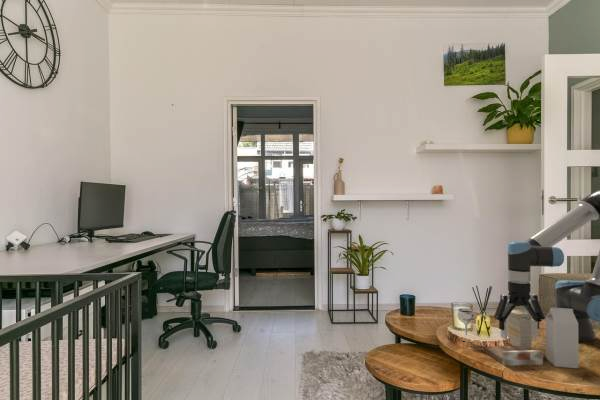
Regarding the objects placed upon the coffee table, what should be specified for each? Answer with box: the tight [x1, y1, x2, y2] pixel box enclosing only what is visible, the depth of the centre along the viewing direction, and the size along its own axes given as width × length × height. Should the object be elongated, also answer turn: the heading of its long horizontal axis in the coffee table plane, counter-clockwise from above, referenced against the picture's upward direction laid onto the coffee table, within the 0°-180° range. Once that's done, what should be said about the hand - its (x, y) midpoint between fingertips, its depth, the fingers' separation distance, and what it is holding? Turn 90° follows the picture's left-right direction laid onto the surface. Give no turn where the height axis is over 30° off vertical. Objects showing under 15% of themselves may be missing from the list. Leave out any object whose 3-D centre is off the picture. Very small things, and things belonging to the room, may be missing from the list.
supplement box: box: [506, 309, 533, 350], centre depth 145 cm, size 8×5×13 cm, turn 4°
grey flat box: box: [482, 345, 544, 367], centre depth 133 cm, size 14×12×4 cm
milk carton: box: [545, 307, 579, 369], centre depth 129 cm, size 7×7×19 cm
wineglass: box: [456, 307, 476, 336], centre depth 151 cm, size 7×7×12 cm
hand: (519, 337), depth 144 cm, fingers open, 12 cm apart
